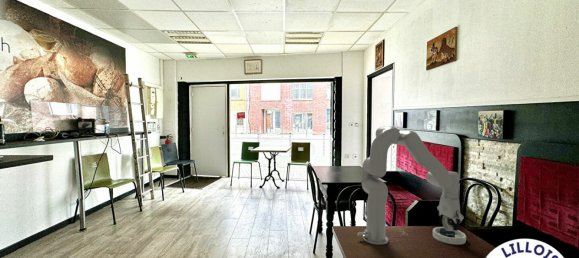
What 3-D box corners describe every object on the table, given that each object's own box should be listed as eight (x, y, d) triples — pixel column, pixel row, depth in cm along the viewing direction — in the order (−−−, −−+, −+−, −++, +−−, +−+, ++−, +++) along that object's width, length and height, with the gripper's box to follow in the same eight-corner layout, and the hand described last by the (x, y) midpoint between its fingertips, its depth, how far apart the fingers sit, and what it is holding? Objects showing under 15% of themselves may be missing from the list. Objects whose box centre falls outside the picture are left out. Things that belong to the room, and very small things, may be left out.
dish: (447, 245, 138) (447, 239, 138) (426, 233, 153) (426, 228, 153) (472, 243, 141) (473, 237, 141) (450, 231, 156) (450, 226, 156)
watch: (446, 239, 144) (447, 218, 143) (438, 232, 152) (439, 212, 151) (456, 239, 143) (458, 218, 143) (448, 232, 151) (449, 212, 151)
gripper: (432, 191, 154) (431, 221, 154) (457, 199, 137) (455, 233, 137) (444, 190, 155) (443, 220, 156) (469, 199, 138) (468, 232, 139)
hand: (449, 226), depth 147 cm, fingers open, 9 cm apart
